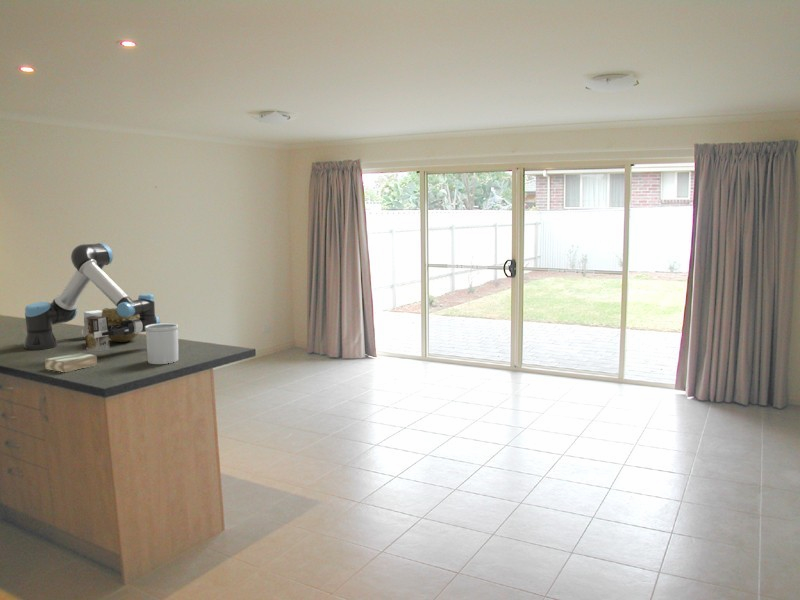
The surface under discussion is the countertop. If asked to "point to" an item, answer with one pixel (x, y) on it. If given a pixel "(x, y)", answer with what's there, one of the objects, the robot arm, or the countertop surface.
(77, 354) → the base block
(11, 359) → the countertop surface
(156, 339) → the utensil holder
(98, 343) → the coffee box
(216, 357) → the countertop surface
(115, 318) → the clay pot
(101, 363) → the countertop surface
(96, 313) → the white canister
